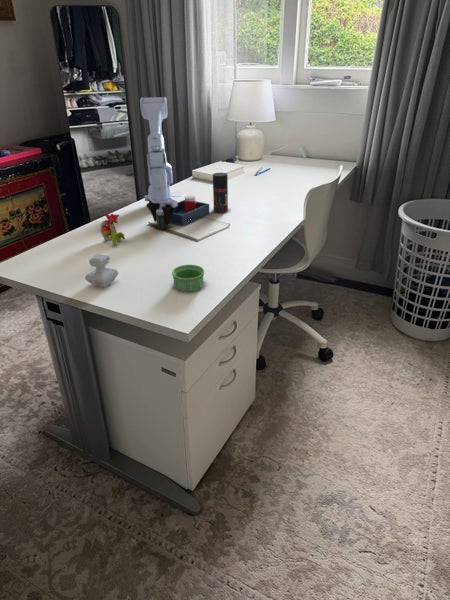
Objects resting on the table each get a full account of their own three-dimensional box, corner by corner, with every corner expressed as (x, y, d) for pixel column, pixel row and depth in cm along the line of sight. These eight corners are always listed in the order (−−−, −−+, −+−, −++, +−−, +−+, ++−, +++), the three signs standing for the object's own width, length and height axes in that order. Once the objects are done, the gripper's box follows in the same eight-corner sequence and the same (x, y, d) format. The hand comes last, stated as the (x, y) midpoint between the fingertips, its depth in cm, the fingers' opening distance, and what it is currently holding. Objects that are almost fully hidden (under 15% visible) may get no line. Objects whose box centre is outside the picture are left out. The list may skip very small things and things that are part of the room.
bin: (159, 219, 168) (158, 210, 166) (186, 208, 180) (186, 199, 178) (182, 225, 162) (181, 215, 160) (209, 213, 174) (209, 203, 172)
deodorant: (226, 213, 174) (225, 176, 166) (212, 212, 175) (211, 175, 167) (229, 208, 179) (228, 172, 171) (215, 208, 180) (214, 172, 172)
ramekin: (167, 289, 117) (166, 275, 115) (181, 276, 124) (180, 262, 122) (196, 295, 114) (196, 280, 112) (209, 280, 122) (209, 267, 119)
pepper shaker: (154, 227, 160) (152, 211, 157) (162, 224, 163) (161, 207, 160) (163, 230, 158) (161, 213, 154) (171, 226, 161) (170, 209, 158)
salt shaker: (183, 213, 173) (181, 197, 169) (190, 210, 176) (189, 194, 173) (191, 215, 170) (190, 199, 167) (198, 212, 174) (198, 196, 170)
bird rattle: (101, 249, 148) (118, 244, 142) (87, 220, 144) (103, 213, 139) (113, 243, 152) (130, 238, 147) (100, 214, 149) (116, 207, 144)
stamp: (103, 275, 126) (98, 249, 121) (122, 279, 123) (118, 252, 119) (83, 289, 118) (78, 261, 114) (103, 293, 116) (98, 265, 112)
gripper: (137, 186, 153) (141, 221, 160) (166, 192, 146) (170, 229, 153) (150, 181, 158) (154, 216, 165) (180, 187, 151) (182, 223, 158)
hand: (162, 222), depth 159 cm, fingers open, 5 cm apart
